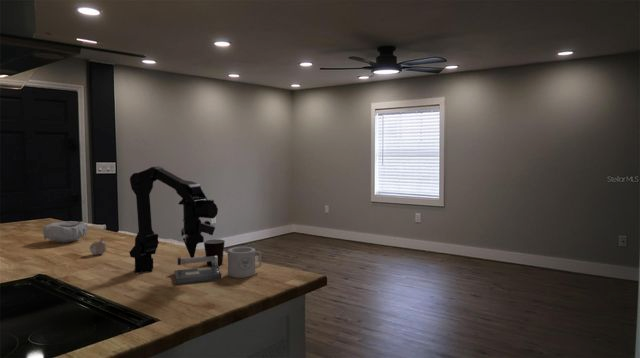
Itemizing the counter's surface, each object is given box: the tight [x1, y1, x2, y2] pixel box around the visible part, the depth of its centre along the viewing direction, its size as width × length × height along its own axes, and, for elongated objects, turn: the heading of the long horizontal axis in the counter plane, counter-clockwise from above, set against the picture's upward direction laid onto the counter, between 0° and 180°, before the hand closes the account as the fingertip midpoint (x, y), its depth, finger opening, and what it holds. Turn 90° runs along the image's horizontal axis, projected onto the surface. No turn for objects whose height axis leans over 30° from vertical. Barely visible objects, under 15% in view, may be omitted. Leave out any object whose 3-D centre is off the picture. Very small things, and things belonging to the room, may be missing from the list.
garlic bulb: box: [89, 238, 107, 256], centre depth 205 cm, size 7×6×8 cm
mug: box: [226, 246, 262, 279], centre depth 174 cm, size 14×11×10 cm
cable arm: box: [177, 255, 219, 268], centre depth 178 cm, size 16×3×5 cm, turn 110°
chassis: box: [173, 266, 222, 285], centre depth 169 cm, size 16×12×2 cm
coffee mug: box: [203, 238, 226, 267], centre depth 189 cm, size 12×9×10 cm
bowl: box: [42, 220, 88, 243], centre depth 233 cm, size 21×20×10 cm
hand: (192, 257), depth 167 cm, fingers closed
